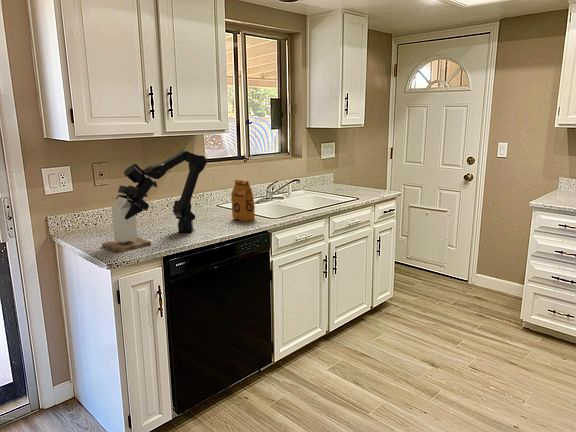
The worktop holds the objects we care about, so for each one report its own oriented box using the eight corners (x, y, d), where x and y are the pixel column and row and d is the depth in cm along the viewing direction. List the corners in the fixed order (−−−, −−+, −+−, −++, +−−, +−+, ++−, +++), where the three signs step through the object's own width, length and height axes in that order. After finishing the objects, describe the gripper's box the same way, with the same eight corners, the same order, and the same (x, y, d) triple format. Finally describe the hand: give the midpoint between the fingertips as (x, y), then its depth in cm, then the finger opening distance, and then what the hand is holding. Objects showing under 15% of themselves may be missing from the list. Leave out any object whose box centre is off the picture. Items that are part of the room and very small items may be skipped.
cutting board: (136, 239, 203) (136, 236, 203) (151, 245, 194) (150, 241, 193) (102, 246, 192) (101, 243, 192) (115, 252, 183) (115, 249, 182)
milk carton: (129, 236, 198) (125, 195, 193) (137, 239, 193) (134, 197, 189) (114, 239, 192) (110, 197, 188) (122, 243, 188) (119, 200, 183)
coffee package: (243, 223, 233) (241, 182, 228) (230, 219, 242) (228, 180, 237) (257, 220, 239) (256, 180, 234) (244, 216, 248) (243, 178, 243)
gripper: (118, 176, 195) (97, 204, 190) (139, 180, 183) (118, 210, 178) (135, 191, 203) (116, 218, 197) (157, 195, 191) (137, 224, 185)
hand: (121, 217), depth 189 cm, fingers closed on milk carton, 7 cm apart
